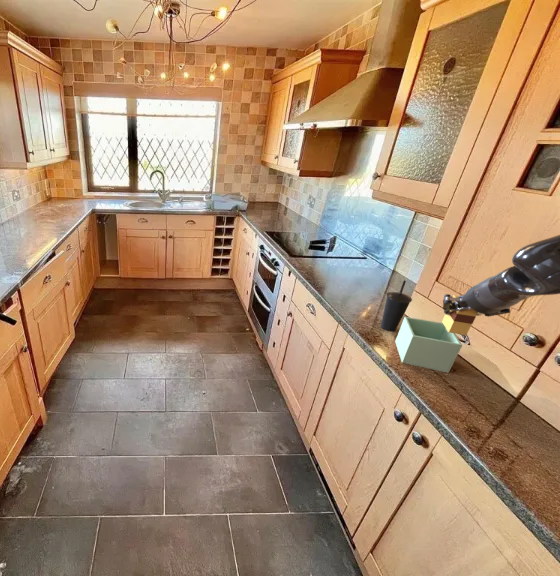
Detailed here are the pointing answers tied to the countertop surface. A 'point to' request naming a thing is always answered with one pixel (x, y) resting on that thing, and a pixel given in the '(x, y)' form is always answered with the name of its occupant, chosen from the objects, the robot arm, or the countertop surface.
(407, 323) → the storage box
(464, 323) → the yellow brown striped block
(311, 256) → the countertop surface
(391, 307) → the drinking cup
